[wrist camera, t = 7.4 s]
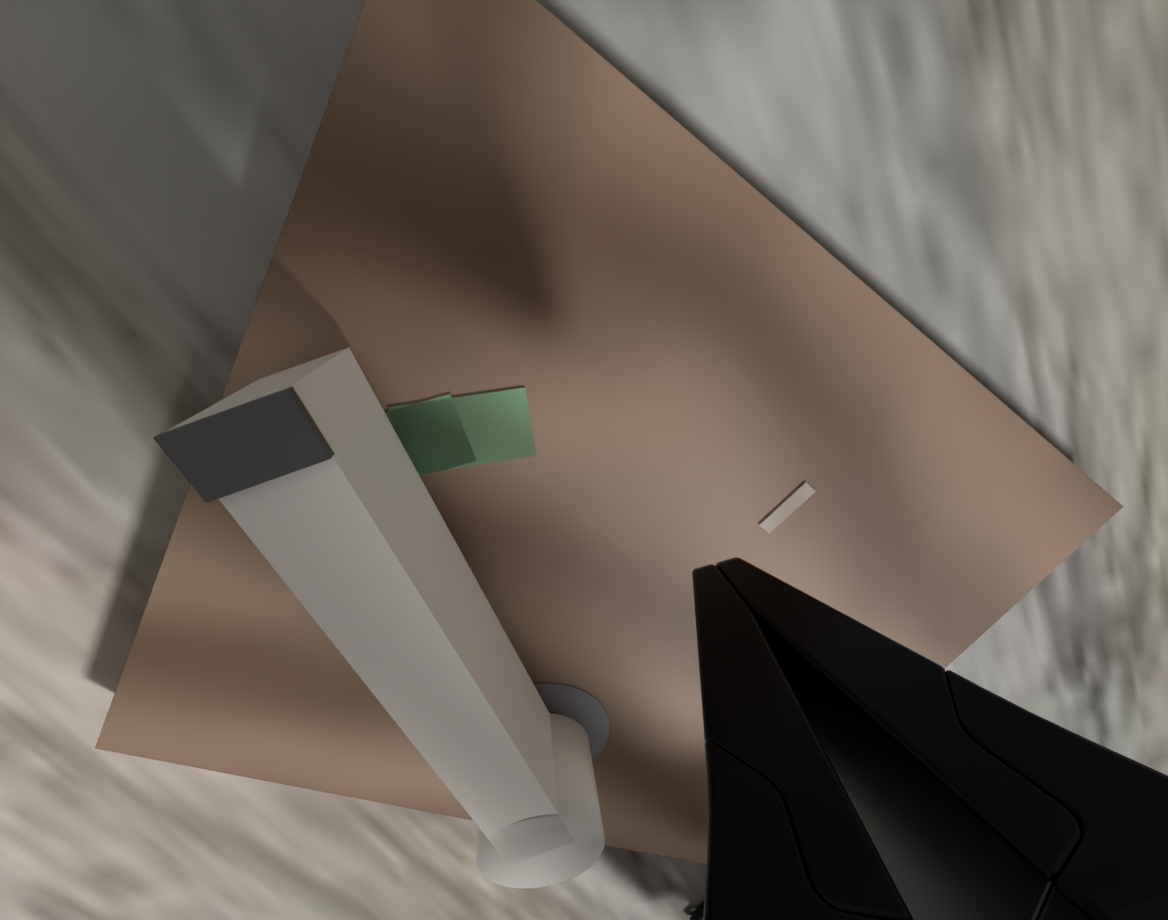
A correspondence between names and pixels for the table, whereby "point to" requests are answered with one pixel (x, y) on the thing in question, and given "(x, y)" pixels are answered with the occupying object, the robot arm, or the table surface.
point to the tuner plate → (584, 425)
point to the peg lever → (399, 605)
